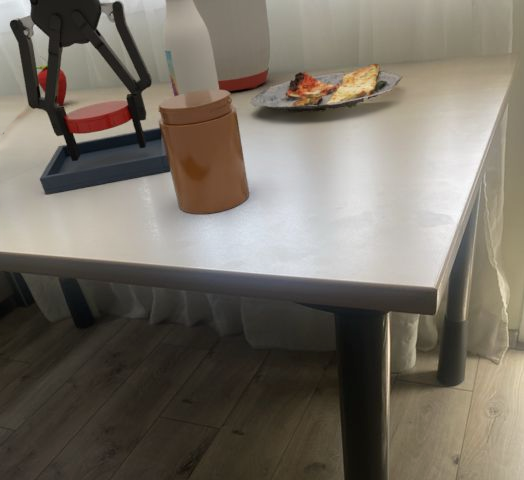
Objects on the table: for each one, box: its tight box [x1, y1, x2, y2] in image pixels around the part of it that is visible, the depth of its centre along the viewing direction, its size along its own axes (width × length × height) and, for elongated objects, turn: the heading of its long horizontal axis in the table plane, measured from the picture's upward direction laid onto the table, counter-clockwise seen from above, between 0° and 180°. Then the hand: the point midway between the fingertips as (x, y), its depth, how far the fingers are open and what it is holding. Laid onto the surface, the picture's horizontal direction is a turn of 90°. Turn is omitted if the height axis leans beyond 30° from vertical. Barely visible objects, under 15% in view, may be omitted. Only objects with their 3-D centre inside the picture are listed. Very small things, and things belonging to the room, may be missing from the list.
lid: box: [64, 100, 132, 135], centre depth 72 cm, size 9×9×2 cm
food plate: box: [250, 63, 404, 113], centre depth 87 cm, size 25×23×4 cm
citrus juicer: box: [193, 0, 271, 92], centre depth 103 cm, size 16×17×20 cm
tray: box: [39, 127, 170, 195], centre depth 75 cm, size 17×16×2 cm
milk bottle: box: [162, 0, 219, 97], centre depth 86 cm, size 8×8×20 cm
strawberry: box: [36, 55, 68, 106], centre depth 116 cm, size 6×8×10 cm
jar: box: [158, 90, 250, 215], centre depth 56 cm, size 8×8×10 cm
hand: (109, 151), depth 75 cm, fingers closed on lid, 9 cm apart
